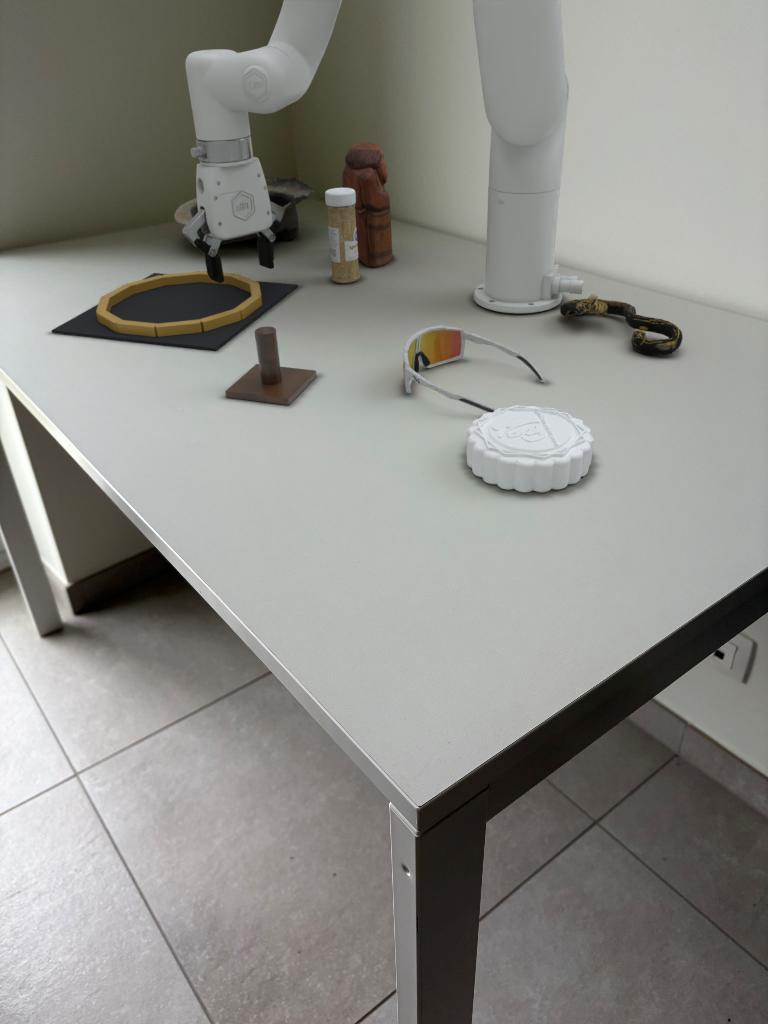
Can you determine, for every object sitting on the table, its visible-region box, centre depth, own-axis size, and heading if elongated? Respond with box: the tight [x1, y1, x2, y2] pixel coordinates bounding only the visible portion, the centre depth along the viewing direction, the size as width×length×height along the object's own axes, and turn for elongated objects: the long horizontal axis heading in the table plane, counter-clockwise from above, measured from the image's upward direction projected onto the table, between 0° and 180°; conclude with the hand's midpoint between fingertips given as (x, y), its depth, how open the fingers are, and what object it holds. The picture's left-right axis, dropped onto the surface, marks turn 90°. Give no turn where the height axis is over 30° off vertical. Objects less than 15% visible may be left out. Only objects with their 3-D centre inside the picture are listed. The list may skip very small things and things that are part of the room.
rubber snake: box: [559, 293, 684, 356], centre depth 103 cm, size 18×5×10 cm
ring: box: [96, 270, 262, 337], centre depth 117 cm, size 23×23×1 cm
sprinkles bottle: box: [324, 187, 361, 284], centre depth 123 cm, size 5×5×14 cm
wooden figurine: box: [341, 141, 393, 268], centre depth 130 cm, size 12×6×18 cm, turn 24°
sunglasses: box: [402, 325, 546, 413], centre depth 92 cm, size 14×15×5 cm
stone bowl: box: [173, 176, 315, 246], centre depth 145 cm, size 25×25×9 cm
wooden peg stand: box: [225, 326, 317, 406], centre depth 92 cm, size 8×8×7 cm
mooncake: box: [465, 404, 595, 493], centre depth 77 cm, size 12×12×4 cm
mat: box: [51, 272, 299, 352], centre depth 118 cm, size 26×26×1 cm
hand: (242, 273), depth 122 cm, fingers open, 8 cm apart
